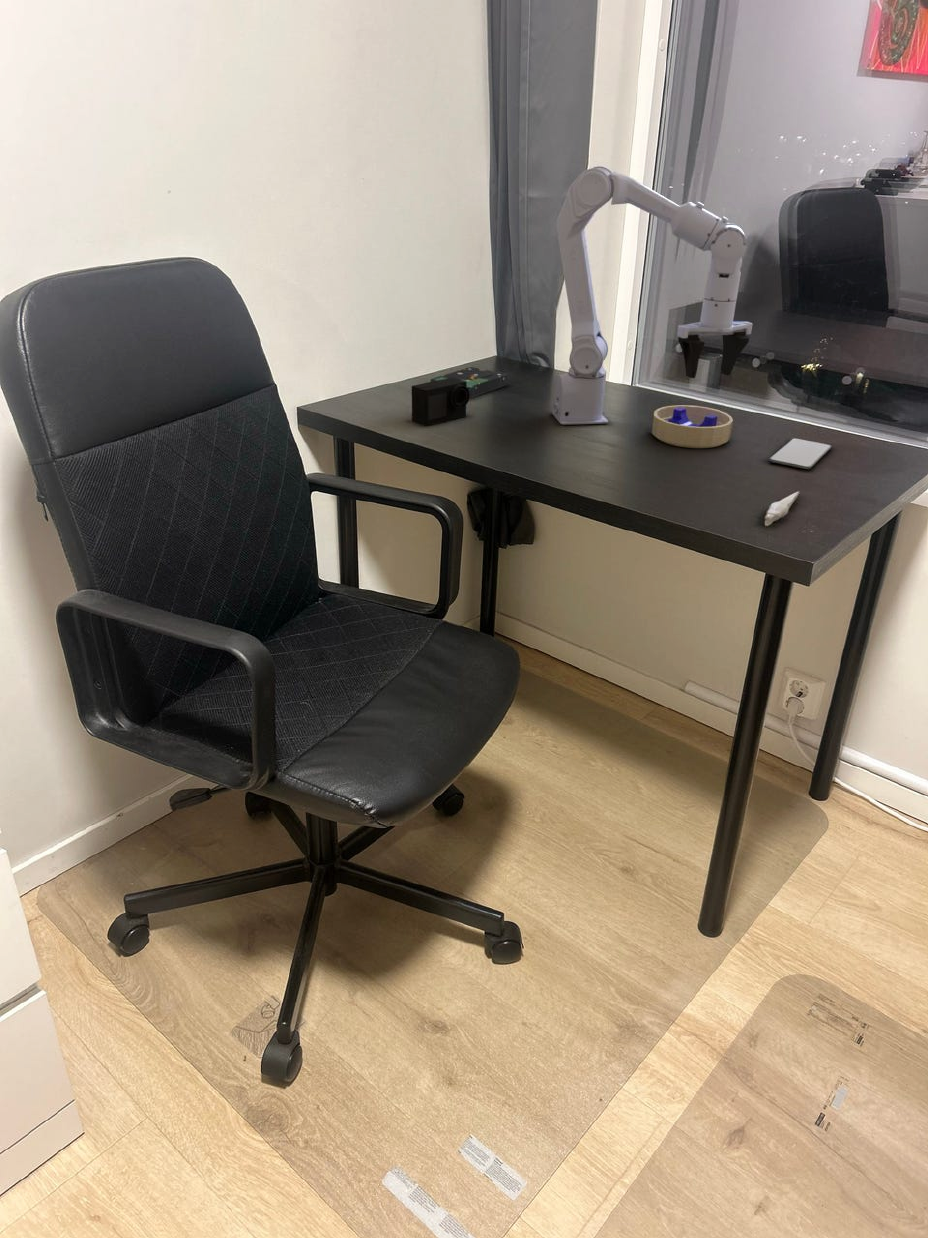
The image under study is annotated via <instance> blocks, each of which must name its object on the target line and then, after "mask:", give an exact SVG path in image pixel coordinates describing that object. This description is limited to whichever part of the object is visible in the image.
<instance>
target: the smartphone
mask: <svg viewBox="0 0 928 1238" xmlns="http://www.w3.org/2000/svg"><path fill="white" fill-rule="evenodd" d="M831 448H832V444H829V443H823V442H819V441H813V440H809V439H802V438H798V437H792V439H791V440H789V441H788V442H786V444H784V445H783V446H782V447H781V448H780V449H779V450H777V452H775V453H774V454H773V455H772V456H771V457H769V461H770V462H771V463H774V464H779V465H784V466H790V467H792V468H793V467H794V468H799V469H802V470H803V469H804V470H810V469H811V468H812V467H813V466H814V465H816V463H817V462H818V461H819V460H820V459H821V458H822V457H823V456H825V454H826V453H827V452H829V451H830V450H831Z"/></svg>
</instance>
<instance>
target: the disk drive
mask: <svg viewBox="0 0 928 1238" xmlns="http://www.w3.org/2000/svg"><path fill="white" fill-rule="evenodd" d="M508 377H509V376H508V374H507V373H505V372H504V373H503V372H497V371H494V370H489V369H485V370H481V369H480V368H479V367H473V366H470V367H466V368H462V369H459V370H456V371H454V372H453V371H452V372H450V373H449V372H448V373H446V374H442V375H440V376H439V375H438V376H436V377H433V378H431V379H430V382H433V381H438V380H443V379H448V378H456V379H459V380H462V381H466V382H467V388H468V390H469V393H470V397H469V399H472V398H474V397H477V396H480V395H483V394H485V393H489V392H491V391H494V390H497V389H500V388H503V387H505V386H507V385H508Z"/></svg>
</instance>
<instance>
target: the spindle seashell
mask: <svg viewBox="0 0 928 1238" xmlns="http://www.w3.org/2000/svg"><path fill="white" fill-rule="evenodd" d="M799 494H800V491H796V492H794V493H791V494H790V495H788V496H786V497H784V498H782V499H781V500H780V501H774V502H772V503H771V504H770V505H768V510H767V511H766V513H765V516H764V526H766V527H768V526H771V525H772V524H773V522H777V521H778V520H780V519H783V518H784V517H785V516H786V515H788V513H789V510H790V508H791V507H792V505H793V503H794V502H795V501H796V499H797V498H798V496H799Z"/></svg>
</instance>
